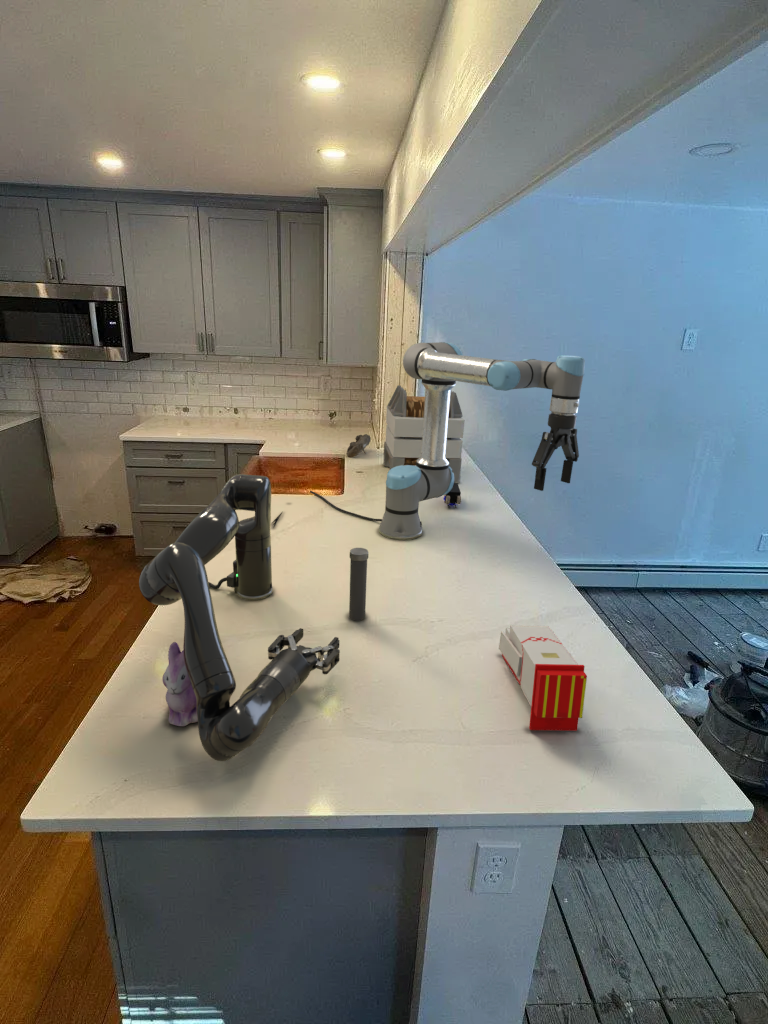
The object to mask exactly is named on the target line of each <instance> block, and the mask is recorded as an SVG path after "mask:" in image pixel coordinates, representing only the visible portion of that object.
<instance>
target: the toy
mask: <svg viewBox="0 0 768 1024" xmlns="http://www.w3.org/2000/svg"><path fill="white" fill-rule="evenodd" d="M499 635H500V636H499V643H498V650H499V652H500V653H501V657H502V658H503V660H504V662H505V663H506V665H507V667H508V669H509V670H510V671H511V673H512V675H513V676H514V678H515V680H516V681H517V683H518V685H520V689H521V691H522V692H523V695H524V696H525V698H526V700H527V702H528V704H529V706H530V715H529V725H528V729H529V731H562V732H563V731H569V732H570V731H572V732H577V731H578V727H579V719H582V718H583V713H584V705H585V697H586V689H587V688H586V687H587V678H588V675H587V673H586V672H585V665H584V664H579V663H578V662H577V661H576V660H575V658H574V657H573V656H572V654H571V653H570V652H569V651H568V649H567V648H566V646H565V645H564V644H563V643H562V642H561V640H560V639H559V637H558V636H557V635H556V633H555V632H554V631H553V630H552V629H551V627H550V626H549V625H516V624H515V625H514V624H513V625H512V624H511V625H510V626H509V627H505V632H504V631H500V634H499Z"/></svg>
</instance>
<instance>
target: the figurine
mask: <svg viewBox="0 0 768 1024" xmlns="http://www.w3.org/2000/svg"><path fill="white" fill-rule="evenodd" d="M167 652H168V654H167V658H168V665H167V667H166V669H165V670H164V672H163V675H162V680H161V681H162V684H163V686H164V687H165V688H166V690H167V691H166V693H165V701H166V704H167V707H168V710H169V715H168V723H169V724H170V725H173V726H176V727H177V726H178V727H185V726H187V725H189V724H192V723H193V724H194V723H198V719H197V707H196V696H195V694H194V691H193V688H192V685H191V683H190V680H189V677H188V674H187V671H186V667H185V662H184V653H183V650H181V648H180V645H179V644H178V642H176V641H173V642H172V643H170V645H169V648H168V651H167Z"/></svg>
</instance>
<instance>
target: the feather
mask: <svg viewBox="0 0 768 1024" xmlns="http://www.w3.org/2000/svg"><path fill="white" fill-rule="evenodd" d="M282 514H283V512H280V514H279V515H278V516H277V517H275V519H274V520H273V521H271V525H273V529H274V528H275V526H276V524H277V523H278V521H279V520H280V518H281V516H282Z"/></svg>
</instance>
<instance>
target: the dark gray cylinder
mask: <svg viewBox="0 0 768 1024" xmlns="http://www.w3.org/2000/svg"><path fill="white" fill-rule="evenodd" d="M349 564H350V565H349V568H350V569H349V570H350V571H349V606H348V608H349V609H348V618H349V619H350V620H352V621H355V622H359V621H363V620H365V619H366V605H367V579H368V578H367V577H368V576H367V575H368V559H367V560H365V561H354V560H351V559H350V563H349Z"/></svg>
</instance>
